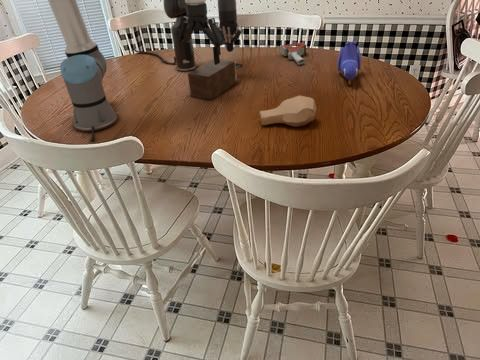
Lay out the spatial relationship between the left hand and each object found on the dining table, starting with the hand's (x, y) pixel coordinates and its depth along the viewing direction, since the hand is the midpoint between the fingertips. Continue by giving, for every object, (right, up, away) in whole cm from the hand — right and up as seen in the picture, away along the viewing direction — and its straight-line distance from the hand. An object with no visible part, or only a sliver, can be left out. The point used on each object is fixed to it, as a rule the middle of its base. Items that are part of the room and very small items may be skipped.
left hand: (202, 61), depth 141 cm
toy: (+62, -3, +14) cm, 64 cm away
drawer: (+6, -4, +16) cm, 17 cm away
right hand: (+10, +10, +15) cm, 21 cm away
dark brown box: (+4, -8, +12) cm, 15 cm away
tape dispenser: (+42, +15, +41) cm, 61 cm away
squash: (+32, -27, -16) cm, 45 cm away
